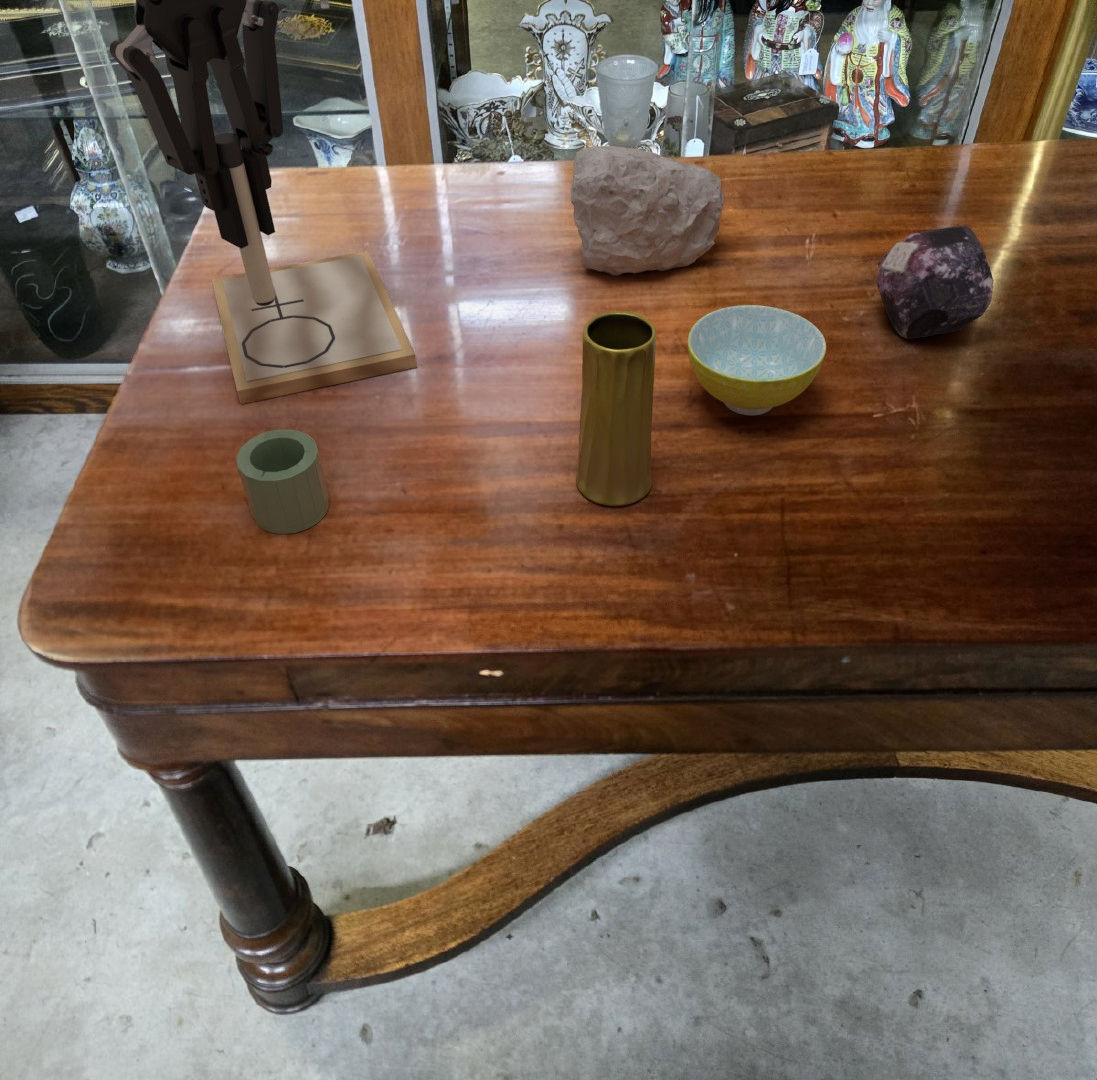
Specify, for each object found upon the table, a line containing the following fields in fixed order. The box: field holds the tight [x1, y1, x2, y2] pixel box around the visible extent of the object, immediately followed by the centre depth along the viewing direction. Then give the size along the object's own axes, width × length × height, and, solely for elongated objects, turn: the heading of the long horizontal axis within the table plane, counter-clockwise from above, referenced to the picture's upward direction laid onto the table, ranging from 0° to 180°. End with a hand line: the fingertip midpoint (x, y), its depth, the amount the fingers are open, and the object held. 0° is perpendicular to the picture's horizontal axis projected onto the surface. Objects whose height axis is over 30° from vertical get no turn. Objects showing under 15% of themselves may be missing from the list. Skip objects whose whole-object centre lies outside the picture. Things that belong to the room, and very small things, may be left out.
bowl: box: [687, 304, 827, 416], centre depth 89 cm, size 11×12×6 cm
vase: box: [575, 310, 657, 507], centre depth 78 cm, size 6×6×14 cm
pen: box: [214, 132, 275, 306], centre depth 86 cm, size 2×2×15 cm
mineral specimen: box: [875, 224, 995, 339], centre depth 96 cm, size 10×10×10 cm
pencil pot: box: [235, 429, 330, 535], centre depth 80 cm, size 6×6×6 cm
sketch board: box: [211, 250, 418, 405], centre depth 99 cm, size 16×20×2 cm
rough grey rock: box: [570, 145, 725, 276], centre depth 103 cm, size 16×9×15 cm, turn 108°
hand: (248, 234), depth 87 cm, fingers closed on pen, 2 cm apart
